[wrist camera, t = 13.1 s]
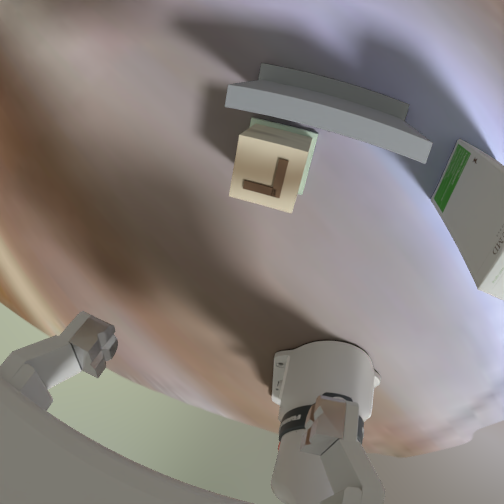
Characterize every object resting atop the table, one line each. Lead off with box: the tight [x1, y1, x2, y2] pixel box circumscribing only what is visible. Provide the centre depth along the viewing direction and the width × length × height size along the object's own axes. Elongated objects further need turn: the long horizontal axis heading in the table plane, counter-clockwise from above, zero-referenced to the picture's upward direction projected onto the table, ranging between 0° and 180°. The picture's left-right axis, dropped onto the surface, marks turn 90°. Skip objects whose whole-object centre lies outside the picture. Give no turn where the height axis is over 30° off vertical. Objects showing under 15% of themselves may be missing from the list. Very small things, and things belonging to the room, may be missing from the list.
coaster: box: [249, 117, 318, 195], centre depth 32 cm, size 7×7×1 cm
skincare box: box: [431, 139, 504, 300], centre depth 22 cm, size 8×7×16 cm
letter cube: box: [229, 123, 312, 213], centre depth 30 cm, size 6×6×6 cm
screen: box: [225, 63, 433, 164], centre depth 23 cm, size 5×15×12 cm, turn 80°
